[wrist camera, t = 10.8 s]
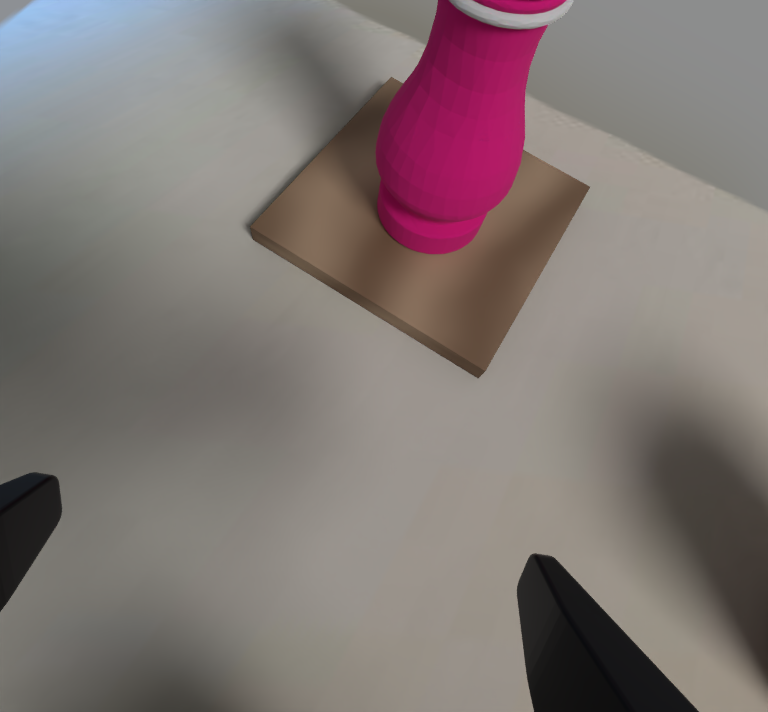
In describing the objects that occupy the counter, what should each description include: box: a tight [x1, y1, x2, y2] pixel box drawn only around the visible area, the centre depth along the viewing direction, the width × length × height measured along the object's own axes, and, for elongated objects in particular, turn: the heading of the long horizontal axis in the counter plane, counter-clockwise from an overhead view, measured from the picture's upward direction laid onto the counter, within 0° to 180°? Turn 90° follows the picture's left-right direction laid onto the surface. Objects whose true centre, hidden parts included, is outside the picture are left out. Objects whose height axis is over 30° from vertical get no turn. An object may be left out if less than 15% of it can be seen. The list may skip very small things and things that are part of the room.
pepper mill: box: [375, 0, 573, 254], centre depth 18 cm, size 7×7×20 cm
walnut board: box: [250, 77, 590, 378], centre depth 28 cm, size 15×15×1 cm
